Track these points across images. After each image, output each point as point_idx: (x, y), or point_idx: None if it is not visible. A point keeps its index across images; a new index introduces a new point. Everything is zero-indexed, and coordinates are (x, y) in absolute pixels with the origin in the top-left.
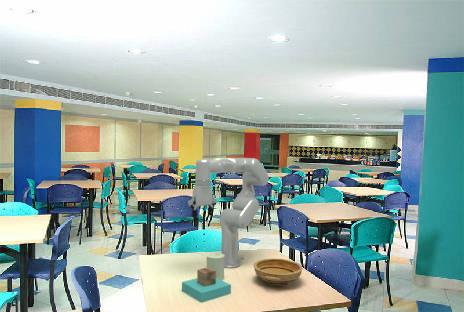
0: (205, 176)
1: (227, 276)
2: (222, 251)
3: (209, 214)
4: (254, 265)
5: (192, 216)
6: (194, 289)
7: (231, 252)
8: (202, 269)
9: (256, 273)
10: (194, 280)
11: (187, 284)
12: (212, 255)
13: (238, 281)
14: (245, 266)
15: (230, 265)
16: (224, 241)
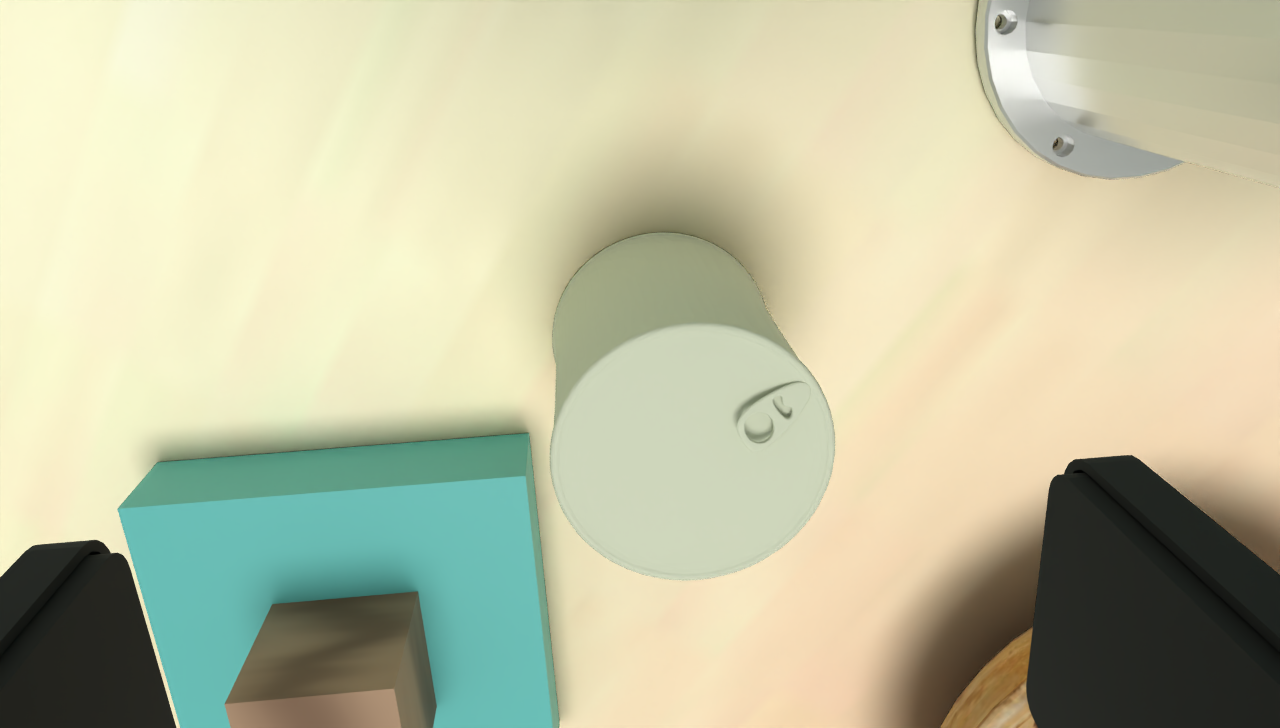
0: None
1: (808, 368)
2: (1130, 5)
3: (1056, 636)
4: (1002, 722)
5: (34, 574)
6: (179, 714)
7: (1187, 160)
8: (288, 721)
9: (945, 724)
10: (271, 537)
11: (151, 596)
12: (657, 429)
13: (807, 539)
14: (1230, 195)
15: (1065, 131)
16: (1251, 73)
